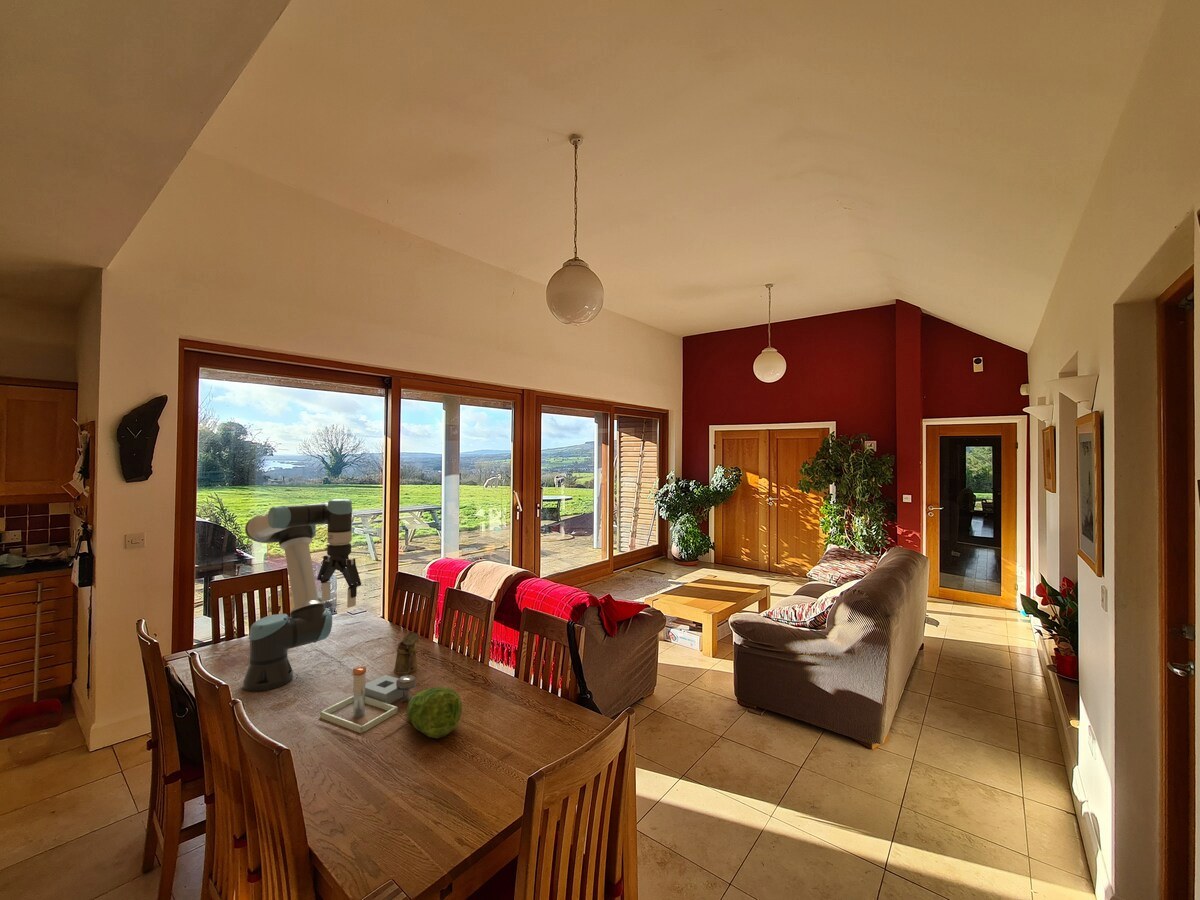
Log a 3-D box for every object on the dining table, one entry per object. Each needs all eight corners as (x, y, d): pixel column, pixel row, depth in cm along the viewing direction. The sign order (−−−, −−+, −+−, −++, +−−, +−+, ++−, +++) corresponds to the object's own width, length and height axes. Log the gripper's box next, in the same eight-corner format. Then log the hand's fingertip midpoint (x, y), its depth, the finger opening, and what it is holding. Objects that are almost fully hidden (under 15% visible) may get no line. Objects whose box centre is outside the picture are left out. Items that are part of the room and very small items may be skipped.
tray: (320, 720, 155) (320, 711, 155) (357, 701, 167) (357, 693, 167) (361, 736, 147) (361, 727, 147) (397, 715, 159) (397, 706, 159)
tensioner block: (360, 701, 168) (360, 686, 168) (385, 688, 177) (385, 674, 177) (385, 709, 162) (385, 694, 162) (409, 696, 171) (409, 681, 171)
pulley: (391, 705, 165) (392, 680, 165) (406, 697, 171) (407, 672, 171) (405, 709, 162) (405, 684, 162) (420, 701, 168) (420, 676, 168)
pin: (349, 717, 156) (350, 670, 156) (360, 711, 159) (360, 665, 160) (357, 720, 154) (358, 672, 154) (368, 714, 158) (368, 667, 158)
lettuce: (433, 720, 164) (436, 677, 167) (467, 734, 148) (469, 686, 151) (390, 729, 155) (394, 683, 158) (422, 745, 138) (424, 694, 142)
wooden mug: (399, 684, 180) (400, 634, 180) (390, 670, 191) (391, 624, 191) (424, 677, 185) (424, 630, 185) (414, 665, 196) (415, 619, 196)
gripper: (306, 541, 175) (305, 601, 175) (353, 548, 164) (352, 612, 164) (326, 538, 182) (325, 595, 182) (373, 544, 171) (372, 605, 171)
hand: (338, 603), depth 173 cm, fingers open, 13 cm apart
